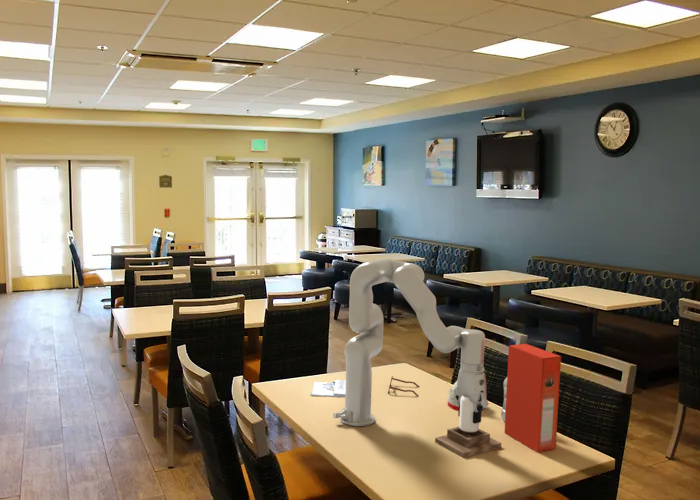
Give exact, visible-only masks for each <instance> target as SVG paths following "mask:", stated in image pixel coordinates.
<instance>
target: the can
mask: <svg viewBox="0 0 700 500" xmlns="http://www.w3.org/2000/svg"><path fill="white" fill-rule="evenodd" d="M478 402H479V400H478ZM477 407H479V404H477ZM474 411H475V410H474V405H473V403H472V402H471V401H470V399H469V397H467V396H464V395H463V394H462V397H461V400H460V417H459V421H458V423H459V425H458V427H459V428H460V429H461V430H462V431H464V432H470V433H472V432H477V431H478V430H479V429H480V427H479V426H480V422H479V423H475V424H474V423H473V412H474Z"/></svg>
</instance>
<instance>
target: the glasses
mask: <svg viewBox="0 0 700 500" xmlns="http://www.w3.org/2000/svg"><path fill="white" fill-rule="evenodd" d="M393 381H396V382H401V383H405V384H413V385H414V386H416V388H420V386H419V385H418V384H417V383H416V382H415V381H406V380H401V379H399V378H394V376H393V375H392V376H391V379H390V382H389V386H388V387H389V388H388V391H387V393H388V394H389V393H390V389H391V390H392V389H393V390H396V391H400V392H405V393H407V392H409V393H410V392H412V394H414V395H415V396H416V397H419V394H418V393H417V392H416V391H414V390H411V389H401V388H397V387H394V386H391V385H392V382H393Z"/></svg>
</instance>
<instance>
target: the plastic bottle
mask: <svg viewBox="0 0 700 500" xmlns="http://www.w3.org/2000/svg"><path fill="white" fill-rule="evenodd" d="M506 393H507V376H506V378H504V381H503V403H502V410H501V420H502V421H504V422H505V413H506Z"/></svg>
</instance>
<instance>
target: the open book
mask: <svg viewBox="0 0 700 500" xmlns="http://www.w3.org/2000/svg"><path fill="white" fill-rule="evenodd" d="M332 389H334V390H332ZM345 394H346V379H344V380H343V379H341V380H340V379H335V380H334V381H333V382H325V381H324V382H323V381H322V382H320V381H314V382H313V388H312V392H311V393H310V397H329V398H330V397H331V398H345Z"/></svg>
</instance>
